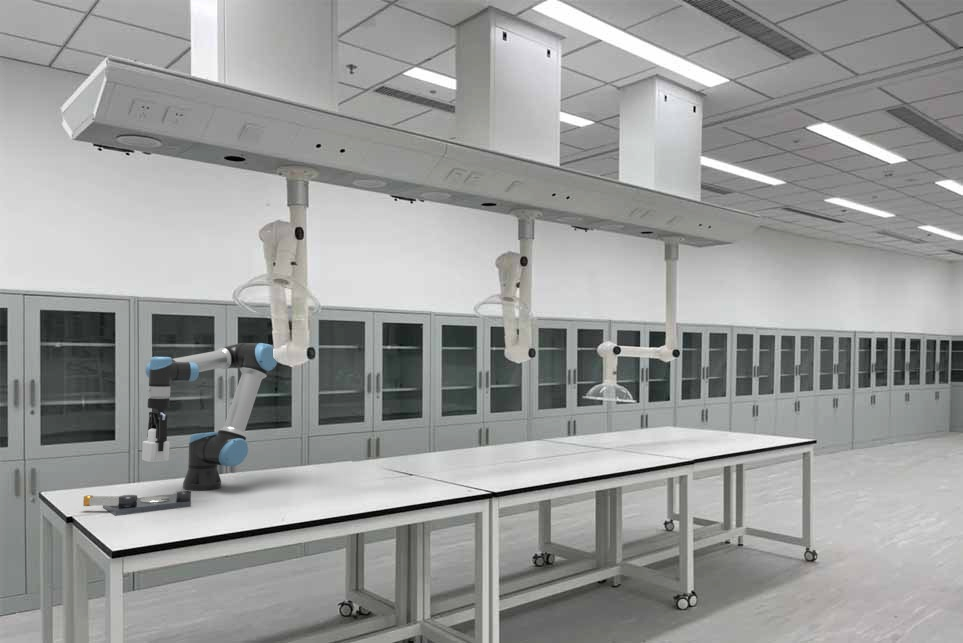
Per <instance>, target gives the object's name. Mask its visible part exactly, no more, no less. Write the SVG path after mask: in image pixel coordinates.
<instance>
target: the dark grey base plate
mask: <svg viewBox="0 0 963 643" xmlns="http://www.w3.org/2000/svg"><path fill="white" fill-rule="evenodd" d="M191 502H192V500H191V501H188V502H177V501H176V493H172V494H171V493H170V494H162V495H153V496H144V497H137V505H136V506H133V507H119V506H102V508H103V509H105V510H106V511H107V512H109V513H111V514H113V515H114V516H116V517H117V516H123V515H132V514H140V513H149V512H156V511H163V510H165V511H166V510H171V509H180V508H188V507H189V508H190V507H192V504H191Z"/></svg>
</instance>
